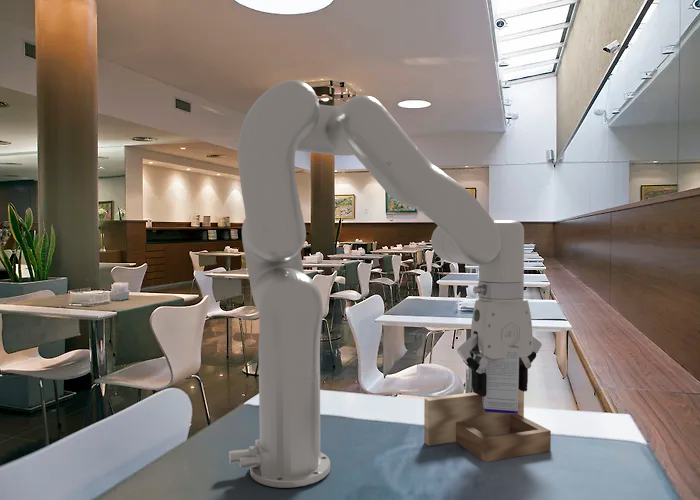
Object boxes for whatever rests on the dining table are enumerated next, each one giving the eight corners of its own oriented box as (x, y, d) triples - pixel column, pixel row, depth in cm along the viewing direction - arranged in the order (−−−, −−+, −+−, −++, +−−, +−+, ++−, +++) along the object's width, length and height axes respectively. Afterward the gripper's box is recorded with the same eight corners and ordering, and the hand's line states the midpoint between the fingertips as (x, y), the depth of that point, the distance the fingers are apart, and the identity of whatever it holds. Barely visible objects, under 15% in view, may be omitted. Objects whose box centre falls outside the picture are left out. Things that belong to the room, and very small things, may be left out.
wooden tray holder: (455, 467, 87) (455, 417, 87) (424, 442, 97) (424, 398, 97) (557, 449, 94) (558, 403, 94) (518, 428, 104) (519, 386, 104)
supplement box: (519, 414, 93) (519, 347, 92) (483, 412, 94) (483, 346, 93) (515, 403, 98) (516, 340, 98) (481, 401, 99) (482, 339, 99)
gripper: (469, 296, 89) (468, 403, 89) (556, 291, 95) (555, 392, 95) (445, 291, 96) (445, 391, 96) (528, 287, 102) (527, 381, 102)
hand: (500, 391), depth 96 cm, fingers closed on supplement box, 7 cm apart
